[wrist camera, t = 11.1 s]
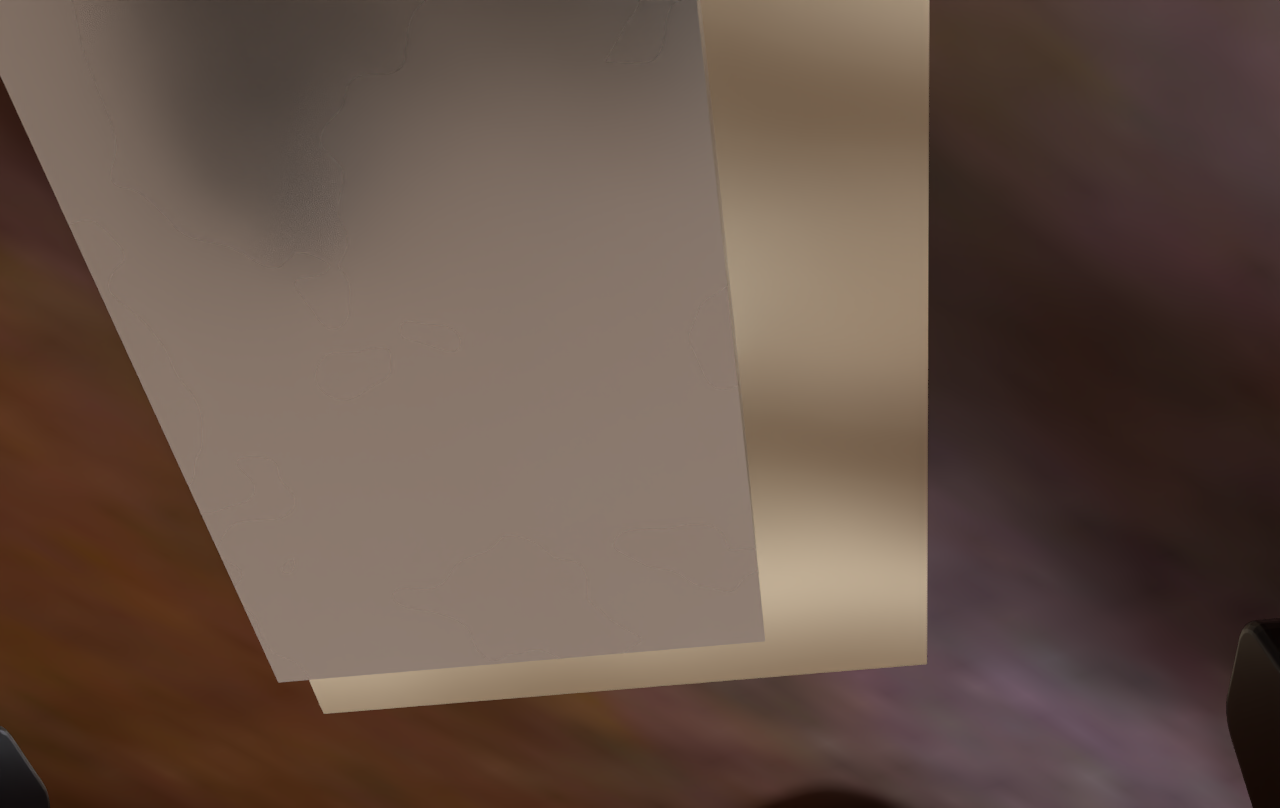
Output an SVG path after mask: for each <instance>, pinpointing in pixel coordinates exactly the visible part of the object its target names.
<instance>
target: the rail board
mask: <svg viewBox="0 0 1280 808" xmlns="http://www.w3.org/2000/svg"><path fill="white" fill-rule="evenodd" d="M700 2H701V11H702V21H703V30H704V40H705V49H706V59H707V68H708V78H709V87H710V97H711V106H712V116H713V125H714V135H715V144H716V154H717V163H718V173H719V182H720V192H721V201H722V211H723V220H724V230H725V239H726V249H727V258H728V268H729V277H730V286H731V296H732V305H733V315H734V324H735V334H736V343H737V353H738V363H739V373H740V383H741V394H742V404H743V415H744V425H745V435H746V446H747V456H748V467H749V477H750V487H751V498H752V508H753V519H754V529H755V539H756V550H757V560H758V571H759V581H760V591H761V602H762V612H763V622H764V633H765V641H764V642H752V643H741V644H729V645H717V646H705V647H693V648H681V649H669V650H657V651H646V652H634V653H622V654H610V655H598V656H586V657H574V658H562V659H551V660H539V661H527V662H515V663H503V664H491V665H479V666H467V667H456V668H444V669H432V670H420V671H408V672H396V673H384V674H372V675H361V676H349V677H337V678H325V679H313V680H309V681H310V683H311V686H312V688H313V690H314V693H315V695H316V697H317V699H318V702H319V704H320V706H321V709H322V711H323V713H324V714H327V713H339V712H351V711H363V710H376V709H388V708H400V707H412V706H424V705H436V704H448V703H461V702H473V701H485V700H497V699H509V698H521V697H533V696H546V695H558V694H570V693H582V692H594V691H606V690H618V689H631V688H643V687H655V686H667V685H679V684H691V683H704V682H716V681H728V680H740V679H752V678H764V677H776V676H789V675H801V674H813V673H825V672H837V671H849V670H861V669H874V668H886V667H898V666H910V665H922V664H927V502H928V225H929V0H700Z"/></svg>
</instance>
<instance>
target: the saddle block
mask: <svg viewBox="0 0 1280 808" xmlns="http://www.w3.org/2000/svg"><path fill="white" fill-rule="evenodd" d="M0 76H1V78H2V81H3V83H4V85H5V87H6V89H7V91H8V94H9V96H10V98H11V100H12V102H13V105H14V107H15V109H16V111H17V113H18V115H19V118H20V120H21V122H22V124H23V126H24V129H25V131H26V133H27V135H28V137H29V139H30V142H31V144H32V146H33V148H34V150H35V153H36V155H37V157H38V159H39V161H40V163H41V166H42V168H43V170H44V172H45V174H46V177H47V179H48V181H49V183H50V185H51V187H52V190H53V192H54V194H55V196H56V198H57V201H58V203H59V205H60V207H61V209H62V211H63V214H64V216H65V218H66V220H67V222H68V225H69V227H70V229H71V231H72V233H73V235H74V238H75V240H76V242H77V244H78V246H79V249H80V251H81V253H82V255H83V257H84V259H85V262H86V264H87V266H88V268H89V270H90V273H91V275H92V277H93V279H94V281H95V283H96V286H97V288H98V290H99V292H100V294H101V297H102V299H103V301H104V303H105V305H106V307H107V310H108V312H109V314H110V316H111V318H112V321H113V323H114V325H115V327H116V329H117V331H118V334H119V336H120V338H121V340H122V342H123V345H124V347H125V349H126V351H127V353H128V355H129V358H130V360H131V362H132V364H133V366H134V369H135V371H136V373H137V375H138V377H139V379H140V382H141V384H142V386H143V388H144V390H145V393H146V395H147V397H148V399H149V401H150V403H151V406H152V408H153V410H154V412H155V414H156V417H157V419H158V421H159V423H160V425H161V427H162V430H163V432H164V434H165V436H166V438H167V441H168V443H169V445H170V447H171V449H172V451H173V454H174V456H175V458H176V460H177V462H178V465H179V467H180V469H181V471H182V473H183V475H184V478H185V480H186V482H187V484H188V486H189V489H190V491H191V493H192V495H193V497H194V499H195V502H196V504H197V506H198V508H199V510H200V513H201V515H202V517H203V519H204V521H205V523H206V526H207V528H208V530H209V532H210V534H211V537H212V539H213V541H214V543H215V545H216V547H217V550H218V552H219V554H220V556H221V558H222V560H223V563H224V565H225V567H226V569H227V571H228V574H229V576H230V578H231V580H232V582H233V584H234V587H235V589H236V591H237V593H238V595H239V598H240V600H241V602H242V604H243V606H244V608H245V611H246V613H247V615H248V617H249V619H250V622H251V624H252V626H253V628H254V630H255V632H256V635H257V637H258V639H259V641H260V643H261V646H262V648H263V650H264V652H265V654H266V656H267V659H268V661H269V663H270V665H271V667H272V670H273V672H274V674H275V676H276V678H277V680H278V682H289V681H301V680H313V679H325V678H337V677H349V676H361V675H372V674H384V673H396V672H408V671H420V670H432V669H444V668H456V667H467V666H479V665H491V664H503V663H515V662H527V661H539V660H551V659H562V658H574V657H586V656H598V655H610V654H622V653H634V652H646V651H657V650H669V649H681V648H693V647H705V646H717V645H729V644H741V643H752V642H764V641H765V633H764V622H763V612H762V602H761V591H760V581H759V571H758V560H757V550H756V539H755V529H754V519H753V508H752V498H751V487H750V477H749V467H748V456H747V446H746V435H745V425H744V415H743V404H742V394H741V383H740V373H739V363H738V353H737V343H736V334H735V324H734V315H733V305H732V296H731V286H730V277H729V268H728V258H727V249H726V239H725V230H724V220H723V211H722V201H721V192H720V182H719V173H718V163H717V154H716V144H715V135H714V125H713V116H712V106H711V97H710V87H709V78H708V68H707V59H706V49H705V40H704V30H703V21H702V11H701V2H700V0H0Z"/></svg>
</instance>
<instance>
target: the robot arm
mask: <svg viewBox="0 0 1280 808" xmlns="http://www.w3.org/2000/svg"><path fill="white" fill-rule="evenodd" d="M1226 714H1227V722H1228V728H1229V732H1230V736H1231V739H1232V742H1233V746H1234V749H1235V752H1236V755H1237V758H1238V762H1239V765H1240V768H1241V771H1242V774H1243V778H1244V781H1245V784H1246V787H1247V790H1248V794H1249V797H1250V800H1251V803H1252V806H1253V808H1280V618H1276V619H1264V620H1255V621H1251V622H1249V623H1248V624H1246V625H1245V627H1244V628H1243V629H1242V631H1241V634H1240V637H1239V641H1238V646H1237V651H1236V656H1235V661H1234V666H1233V670H1232V675H1231V680H1230V685H1229V690H1228V694H1227V701H1226ZM0 808H50V803H49V796H48V793H47V789H46V787H45V785H44V783H43V782H42V780H41V779H40V778H39V776H38V775H37V773H36V772H35V770H34V769H33V767H32V766H31V764H30V763H29V761H28V760H27V758H26V757H25V755H24V754H23V752H22V751H21V749H20V748H19V746H18V745H17V743H16V742H15V740H14V739H13V737H12V736H11V735H10V733H9V732H8V731H7V730H6V729H5V728H3V727H2V726H0Z"/></svg>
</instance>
